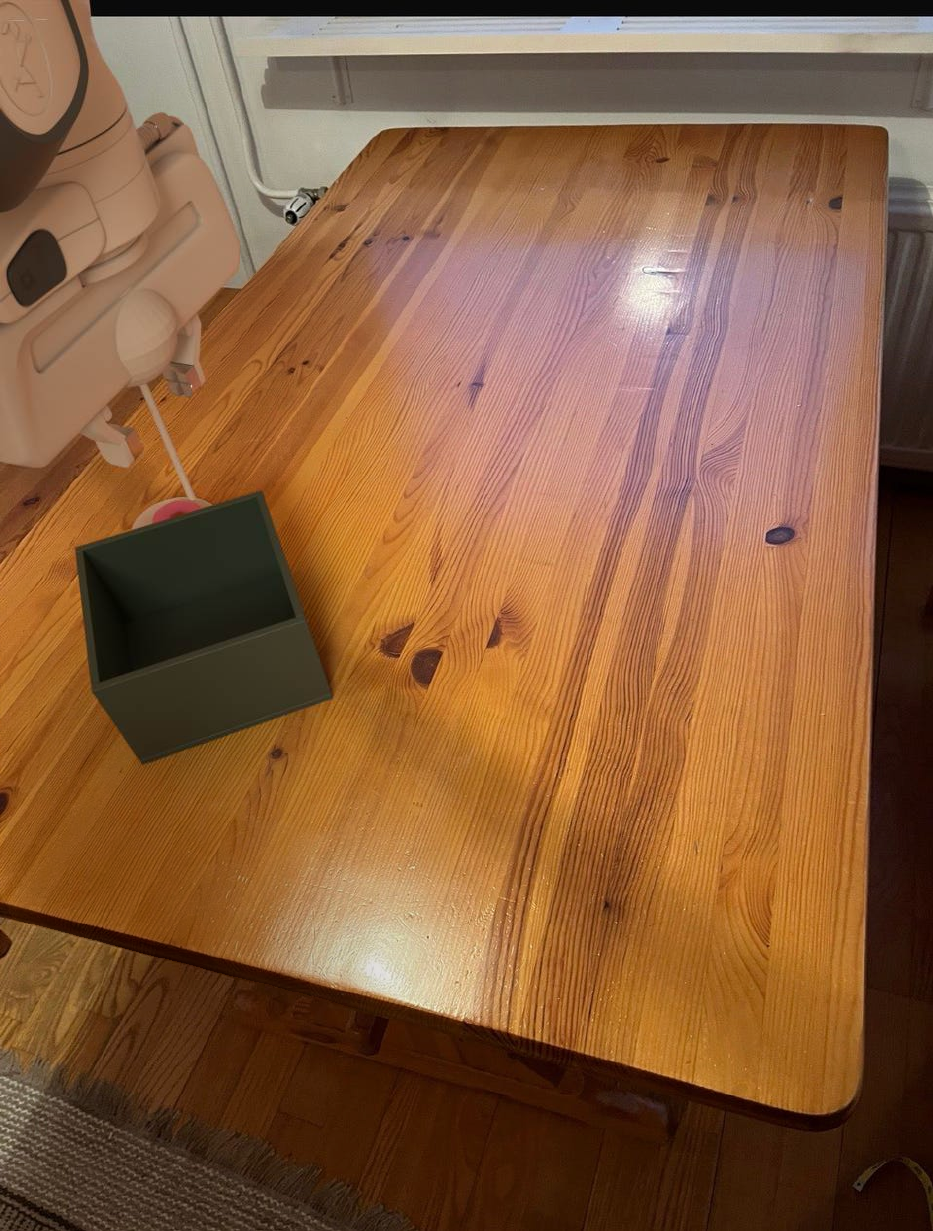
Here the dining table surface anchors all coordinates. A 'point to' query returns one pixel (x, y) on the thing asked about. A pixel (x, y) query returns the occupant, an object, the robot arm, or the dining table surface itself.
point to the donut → (168, 510)
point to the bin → (196, 628)
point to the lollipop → (149, 353)
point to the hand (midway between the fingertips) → (158, 423)
